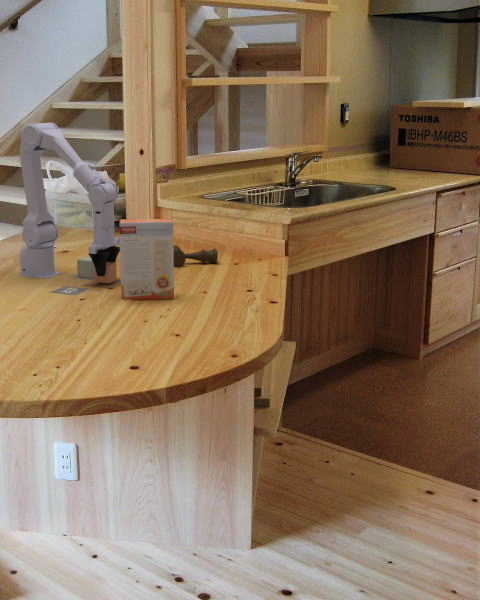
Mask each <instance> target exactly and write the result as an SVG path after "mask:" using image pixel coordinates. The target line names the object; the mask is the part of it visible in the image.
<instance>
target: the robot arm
mask: <svg viewBox="0 0 480 600" xmlns="http://www.w3.org/2000/svg"><path fill="white" fill-rule="evenodd" d="M19 138H20V147H19V151H18V152H19V159H20V160H19V161H20V167H21V174H22V179H23V180H22V181H23V187H24V194H25V201H26V202H25V203H26V206H27V215H26V216H25V217H24V219H23V220H22V226H23V227H22V232H21V237H22V240H23V242H24V245H23V246H22V247H21V248H20V251H19V265H20V267H19V268H20V273H19V274H18V275H19V277H26V278H33V279H35V278H36V279H47V280H48V279H50V278H53V277H56V276H58V275H59V274H61V273H62V272H61V271H57V270H56V269H55V266H56V265H55V245H56V243H55V242H56V241H57V239H58V237H59V228H58V227H57V224H56V221H55V217H54V216H53V215H52V214H51V213H50V212H49V211H48V205H47V204H48V203H47V197H46V190H45V183H44V177H43V176H44V175H43V169H42V162H41V161H42V160H41V157H42V156H43V154H45V152H46V150H52V151H54V152H55V153H56V154H57V155H58V156H59V157H60V158H62V160H63V161H64V162H66V164H67V165H68V166H69V167H70V168H71V169H72V170H73V172H72V174H73V175H72V176H73V177H74V178H75V179H76V180H77V182H78V183H79V184H80V185H81V186H82V187H83V188H84V190H85V191H86V192H87V193H88V194H87V197H88V200H89V203H91V209H92V210H93V211H92V214H93V215H92V217H93V220H92V221H93V242H92V243H91V244H90V245H88V246H87V247H88V250H87V251H88V257H91V259H92V261H93V263H94V266H95V269H96V273H97V276H105V272H106V262H114V263H117V258H118V255H120V237H115V206H114V205H115V203H114V202H115V201H116V200H117V199H118V195H119V193H118V189H117V187H116V186H115V184H114V183H113V182H112V181H107V180H106V178H105V177H103V176H102V175H101V174H100V173H99V172H98V171H97V169H95V168H96V166H95V165H94V164H93V163H90V162H89V161H83V160H82V159H81V157H80V156H79V155H78V153H77V152H76V151H75V150H74V148H73V147H72V146H71V145H70V144H69V142H68V141H67V139H66V138H65V136H64V132H63V130H61V128H60V129H59V127H58V125H57V124H56V123H54V122H51V121H49V122H41V123H39V122H38V123H32V122H31V123H27V124H25V125H24V126H23V128H22V129H21V130H20V131H19ZM118 245H119V246H118Z"/></svg>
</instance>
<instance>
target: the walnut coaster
mask: <svg viewBox="0 0 480 600" xmlns="http://www.w3.org/2000/svg"><path fill="white" fill-rule="evenodd" d="M84 286H86V287H94V288H95V287H96V288H104V289H115V288H116V287H118V286H121V279H117V280H115V281H113V282H111V283H101V282H95V280H91V281H90V282H86V284H84Z"/></svg>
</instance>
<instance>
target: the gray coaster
mask: <svg viewBox="0 0 480 600" xmlns="http://www.w3.org/2000/svg"><path fill="white" fill-rule="evenodd" d="M69 278H71V279H79V280H90V281H94V280H95V277H92V278H86V277H78V274H74V275H72V276H70V277H69Z"/></svg>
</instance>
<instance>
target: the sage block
mask: <svg viewBox="0 0 480 600" xmlns="http://www.w3.org/2000/svg"><path fill="white" fill-rule="evenodd" d="M76 265H77V266H76V269H77V270H76V271H77V274H78V277H86V278H92V277H95V272H94V263H93V261H92V259H91V257H90V256H83V257H81V258H78V259H77V260H76Z"/></svg>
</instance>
